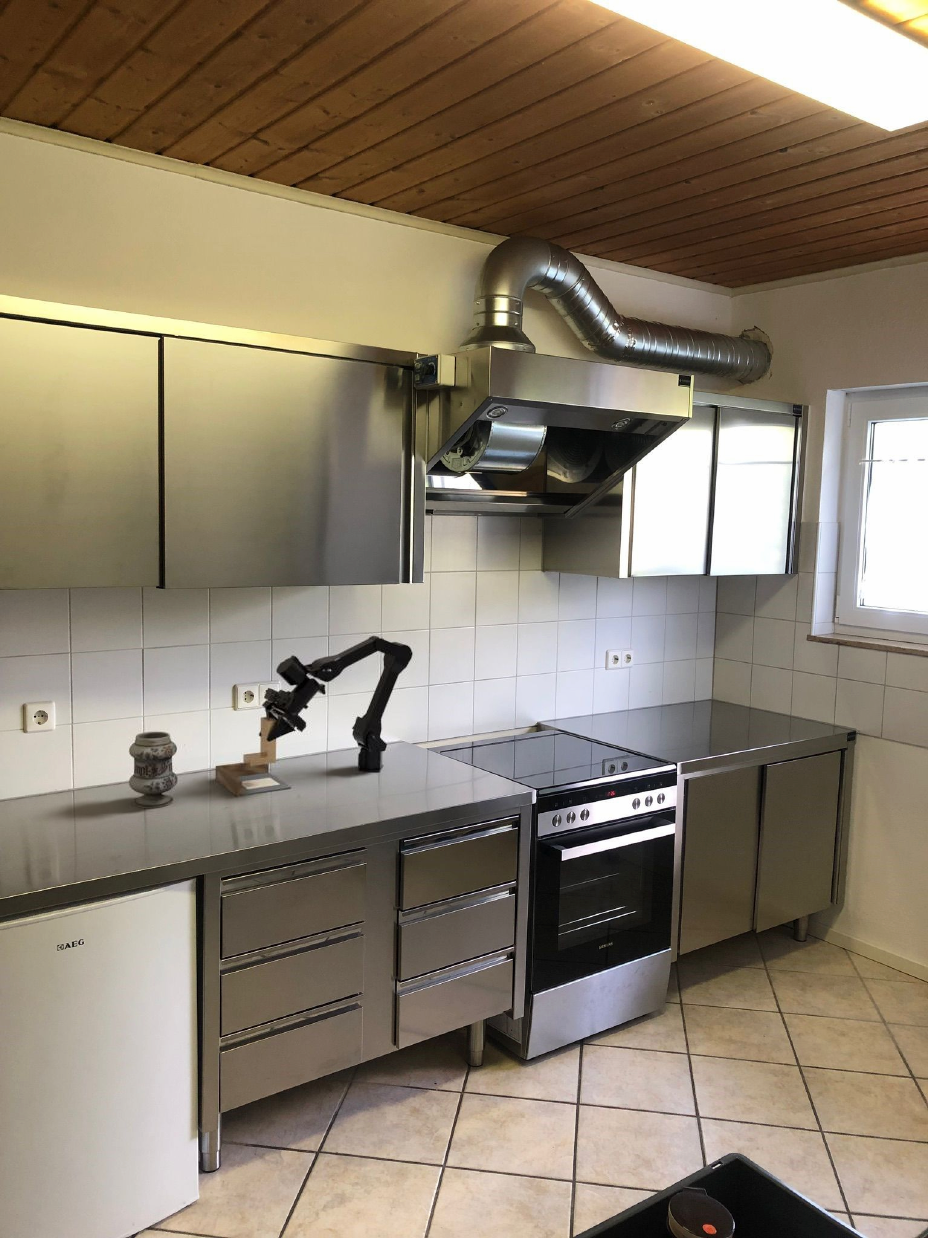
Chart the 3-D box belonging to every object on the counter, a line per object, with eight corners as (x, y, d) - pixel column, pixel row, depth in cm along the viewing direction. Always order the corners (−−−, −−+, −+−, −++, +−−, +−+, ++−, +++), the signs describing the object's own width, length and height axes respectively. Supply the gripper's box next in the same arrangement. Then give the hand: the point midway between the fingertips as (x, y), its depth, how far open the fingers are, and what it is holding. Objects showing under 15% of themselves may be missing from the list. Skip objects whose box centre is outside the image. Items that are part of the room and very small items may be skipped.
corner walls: (266, 772, 280) (267, 759, 279) (291, 788, 266) (291, 774, 265) (215, 779, 271) (215, 766, 270) (237, 796, 257) (237, 782, 257)
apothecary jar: (158, 792, 258) (158, 726, 256) (187, 801, 251) (187, 734, 249) (119, 802, 249) (118, 734, 246) (148, 813, 242) (148, 743, 239)
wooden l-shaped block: (268, 758, 271) (269, 716, 270) (275, 762, 267) (276, 720, 265) (243, 761, 267) (243, 719, 265) (250, 766, 263) (250, 723, 261)
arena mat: (268, 774, 278) (268, 772, 278) (291, 788, 266) (291, 786, 266) (222, 780, 271) (222, 778, 270) (242, 795, 258) (242, 794, 258)
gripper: (268, 672, 275) (231, 713, 270) (296, 684, 260) (257, 728, 255) (293, 696, 281) (257, 737, 276) (322, 709, 265) (284, 753, 261)
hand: (263, 738), depth 267 cm, fingers closed on wooden l-shaped block, 5 cm apart
